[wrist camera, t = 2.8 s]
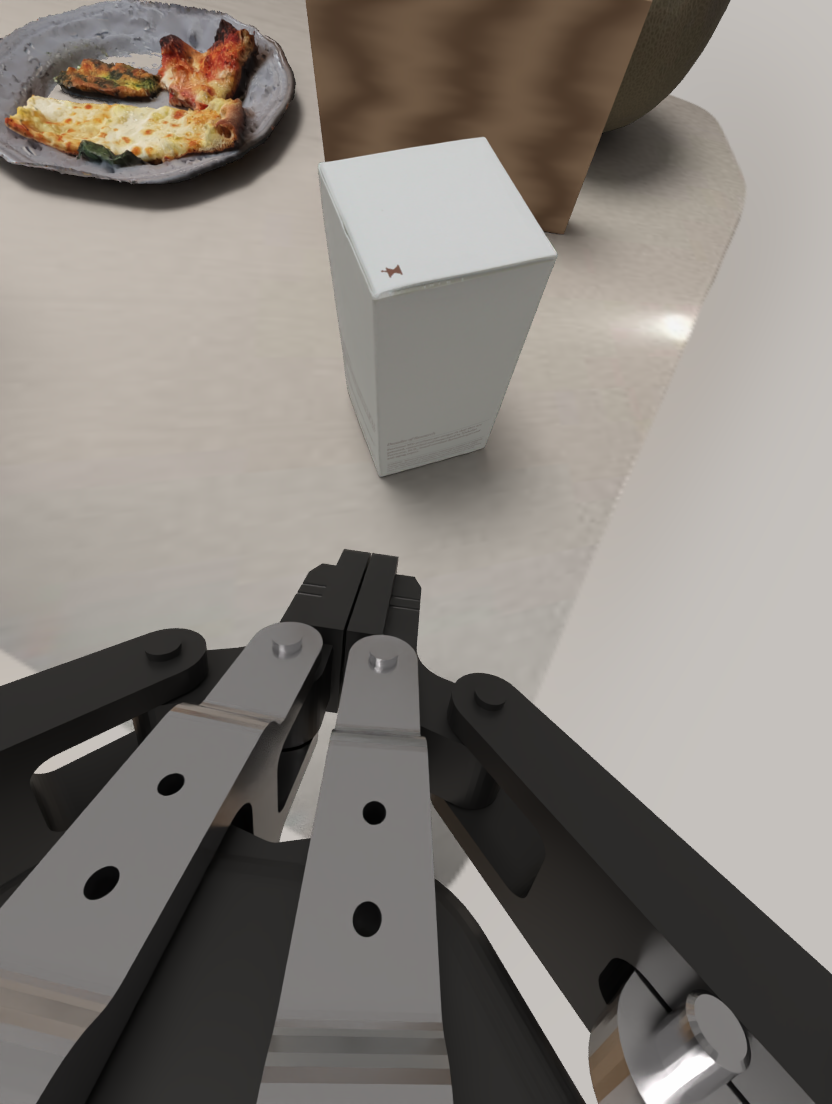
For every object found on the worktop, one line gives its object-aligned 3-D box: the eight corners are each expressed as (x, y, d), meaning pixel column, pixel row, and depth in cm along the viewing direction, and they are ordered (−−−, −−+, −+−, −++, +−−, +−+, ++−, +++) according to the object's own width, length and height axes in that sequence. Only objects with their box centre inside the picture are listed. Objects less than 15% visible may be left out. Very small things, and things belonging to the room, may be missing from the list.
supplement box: (487, 450, 27) (566, 257, 15) (377, 480, 26) (367, 297, 14) (448, 361, 29) (489, 129, 17) (344, 385, 28) (310, 155, 16)
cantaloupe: (495, 83, 40) (554, -256, 26) (636, 87, 41) (767, -234, 27) (520, 182, 35) (608, -158, 21) (677, 184, 37) (860, -138, 22)
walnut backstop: (329, 197, 33) (298, -58, 22) (334, 181, 34) (306, -75, 23) (563, 234, 34) (652, 1, 22) (563, 217, 34) (650, -18, 23)
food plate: (323, 56, 39) (315, -3, 36) (259, 229, 32) (243, 175, 29) (63, 22, 40) (32, -39, 36) (-58, 186, 32) (-111, 128, 29)
